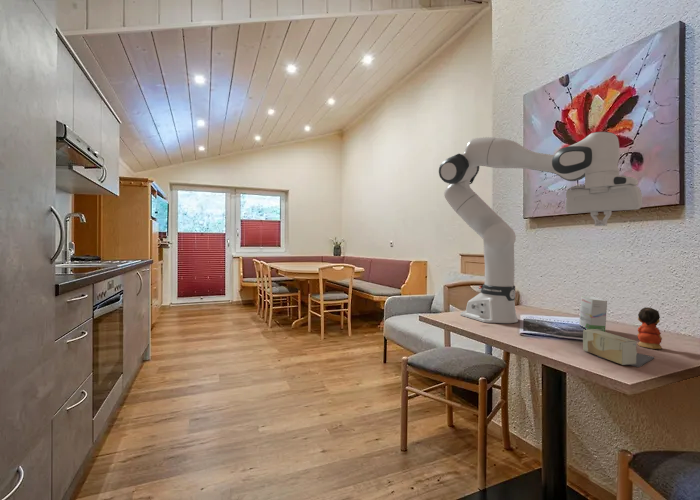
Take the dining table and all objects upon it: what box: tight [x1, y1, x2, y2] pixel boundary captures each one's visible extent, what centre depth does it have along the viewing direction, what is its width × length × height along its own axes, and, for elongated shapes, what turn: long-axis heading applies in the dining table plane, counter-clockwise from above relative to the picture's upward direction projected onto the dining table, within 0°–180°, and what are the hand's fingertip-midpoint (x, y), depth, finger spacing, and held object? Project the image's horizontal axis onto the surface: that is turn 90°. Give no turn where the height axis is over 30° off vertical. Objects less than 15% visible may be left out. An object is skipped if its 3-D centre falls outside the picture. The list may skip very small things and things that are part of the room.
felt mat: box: [597, 352, 655, 368], centre depth 93 cm, size 9×12×1 cm
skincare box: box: [582, 329, 638, 366], centre depth 92 cm, size 6×4×12 cm
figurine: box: [637, 306, 663, 350], centre depth 102 cm, size 6×6×12 cm
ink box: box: [578, 295, 608, 332], centre depth 121 cm, size 9×5×12 cm, turn 168°
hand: (600, 225), depth 109 cm, fingers closed
